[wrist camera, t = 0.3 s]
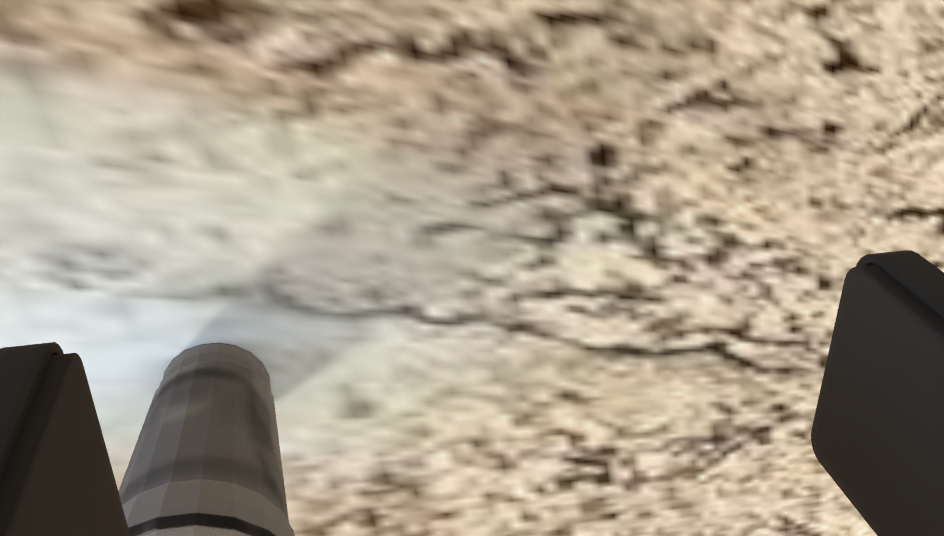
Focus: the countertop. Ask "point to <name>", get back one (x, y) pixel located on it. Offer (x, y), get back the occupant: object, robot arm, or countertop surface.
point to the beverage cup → (208, 451)
